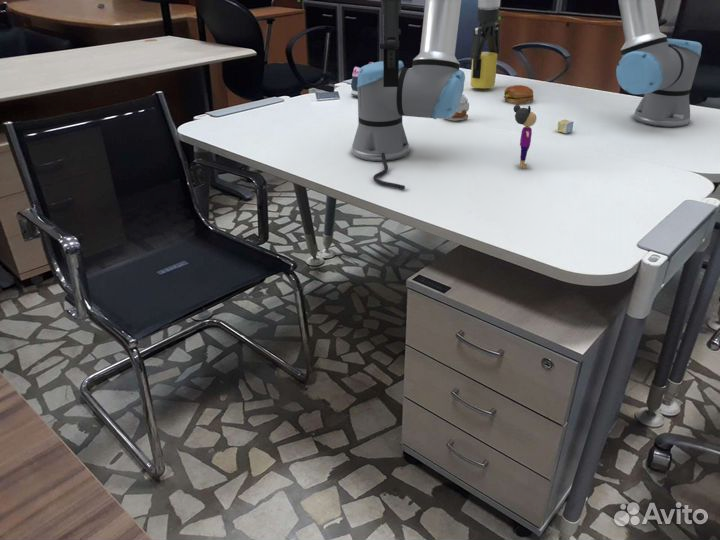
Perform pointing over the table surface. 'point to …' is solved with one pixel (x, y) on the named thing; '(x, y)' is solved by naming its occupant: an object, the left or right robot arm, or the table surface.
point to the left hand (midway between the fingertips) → (390, 78)
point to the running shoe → (355, 81)
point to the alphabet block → (565, 126)
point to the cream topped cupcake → (461, 110)
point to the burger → (518, 94)
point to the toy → (524, 130)
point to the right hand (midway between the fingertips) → (483, 75)
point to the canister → (485, 71)
